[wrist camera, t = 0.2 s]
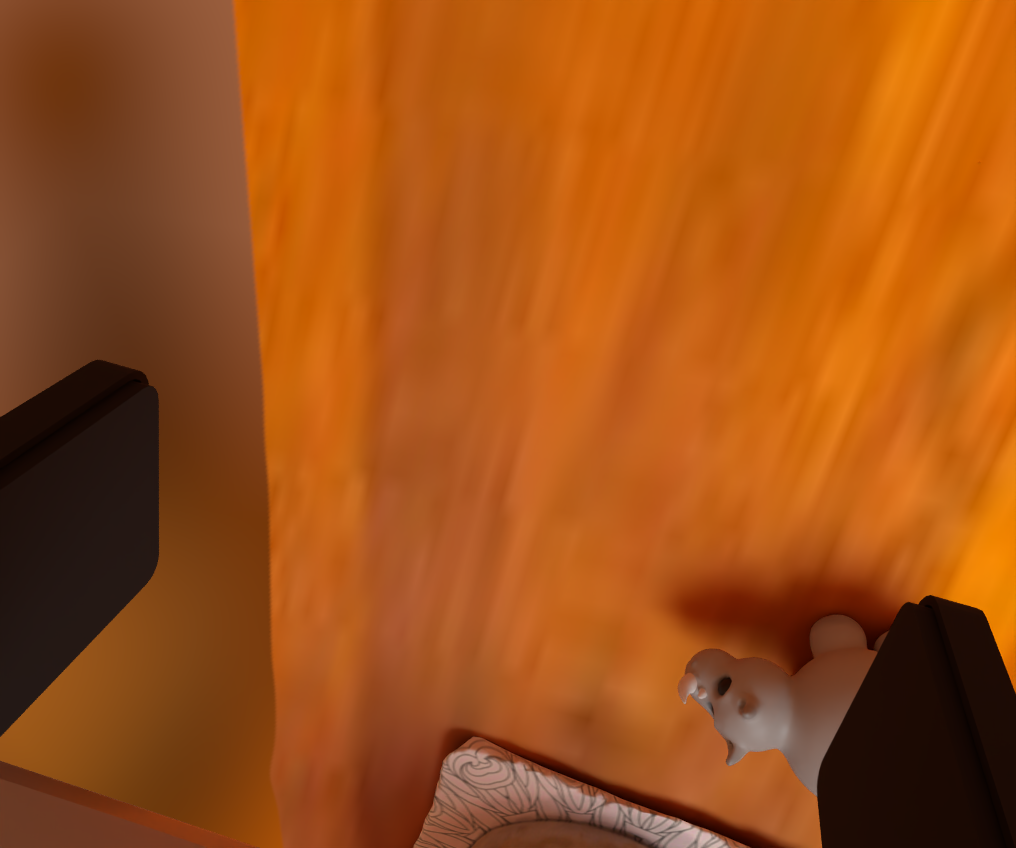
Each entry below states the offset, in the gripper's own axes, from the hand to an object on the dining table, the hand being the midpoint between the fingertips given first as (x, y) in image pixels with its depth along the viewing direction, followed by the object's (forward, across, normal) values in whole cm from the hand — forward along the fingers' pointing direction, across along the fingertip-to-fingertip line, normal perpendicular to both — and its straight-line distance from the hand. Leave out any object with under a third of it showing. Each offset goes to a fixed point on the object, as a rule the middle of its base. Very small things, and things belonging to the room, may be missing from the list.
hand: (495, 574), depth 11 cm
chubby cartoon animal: (+31, -14, +23) cm, 41 cm away
